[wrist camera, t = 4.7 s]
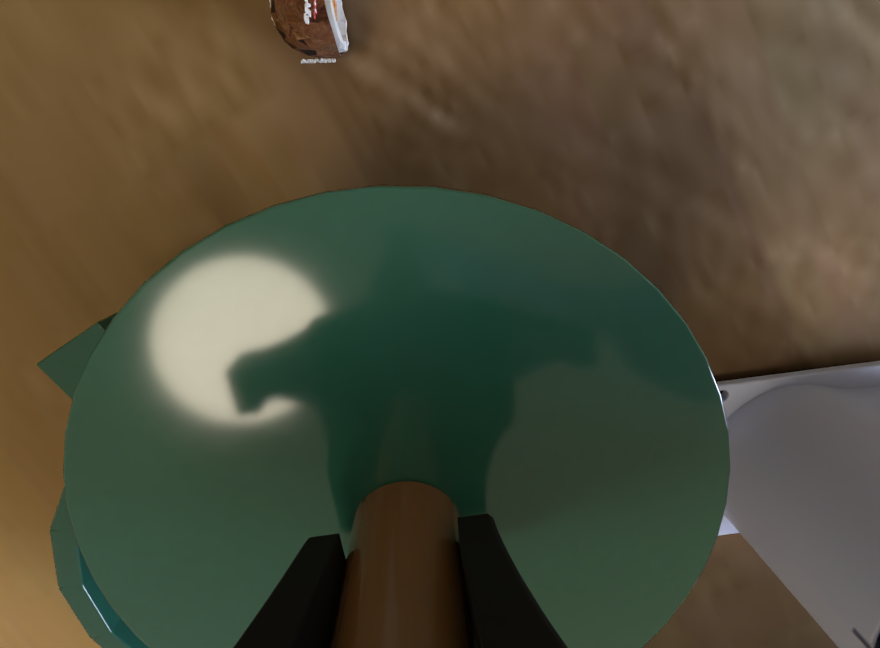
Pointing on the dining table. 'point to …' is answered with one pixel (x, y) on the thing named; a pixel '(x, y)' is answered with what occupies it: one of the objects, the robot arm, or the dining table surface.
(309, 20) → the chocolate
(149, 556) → the pot lid
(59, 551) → the pot
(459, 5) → the dining table surface
